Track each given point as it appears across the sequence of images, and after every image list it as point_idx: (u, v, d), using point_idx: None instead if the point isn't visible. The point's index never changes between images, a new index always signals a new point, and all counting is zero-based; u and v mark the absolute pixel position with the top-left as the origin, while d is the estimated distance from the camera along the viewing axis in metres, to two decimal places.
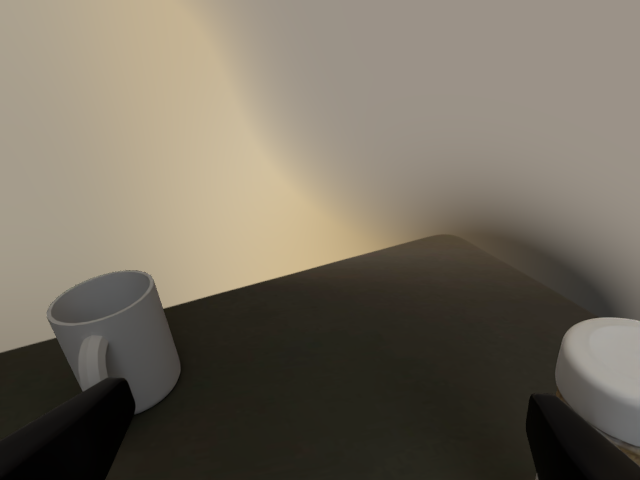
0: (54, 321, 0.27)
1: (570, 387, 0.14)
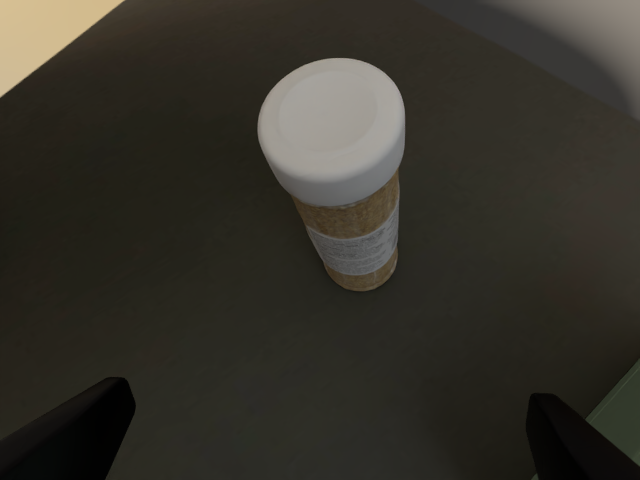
0: None
1: (271, 168, 0.13)
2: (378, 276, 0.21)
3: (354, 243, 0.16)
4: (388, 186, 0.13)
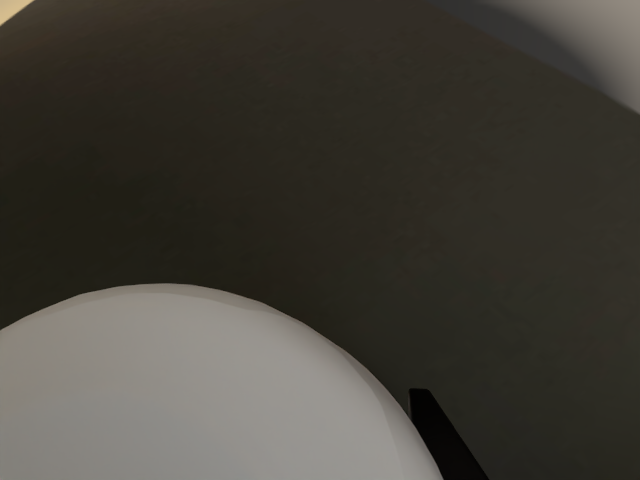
0: None
1: None
2: None
3: None
4: None
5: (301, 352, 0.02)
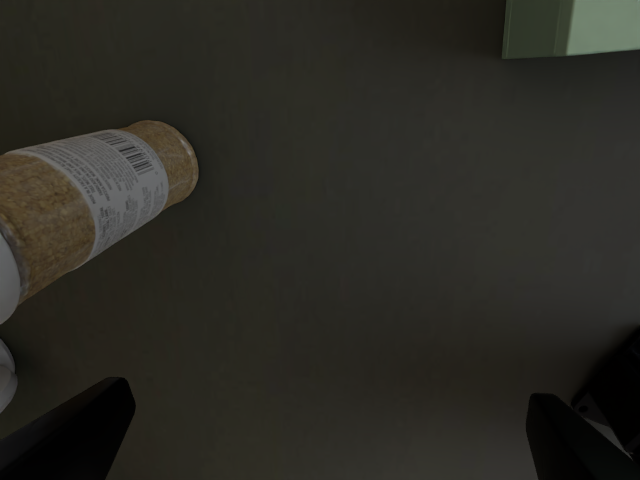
0: None
1: None
2: (182, 177, 0.19)
3: (103, 242, 0.14)
4: (27, 228, 0.11)
5: None
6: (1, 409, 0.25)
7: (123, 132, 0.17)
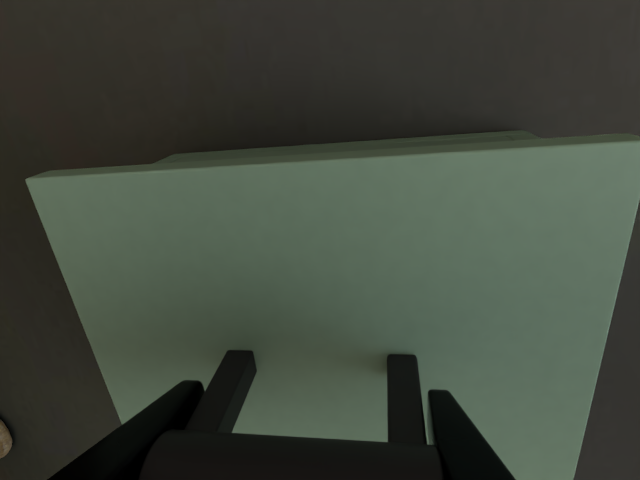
0: None
1: None
2: None
3: None
4: None
5: None
6: None
7: None
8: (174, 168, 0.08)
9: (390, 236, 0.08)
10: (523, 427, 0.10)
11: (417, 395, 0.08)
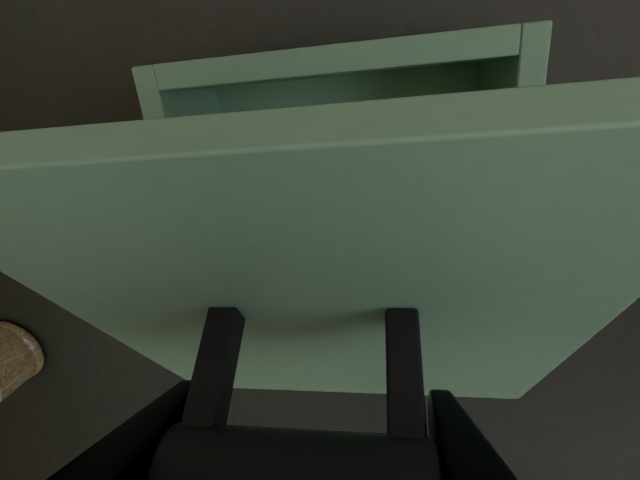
0: None
1: None
2: (21, 372, 0.25)
3: None
4: None
5: None
6: None
7: None
8: (53, 158, 0.05)
9: (390, 224, 0.06)
10: (522, 343, 0.10)
11: (418, 370, 0.08)
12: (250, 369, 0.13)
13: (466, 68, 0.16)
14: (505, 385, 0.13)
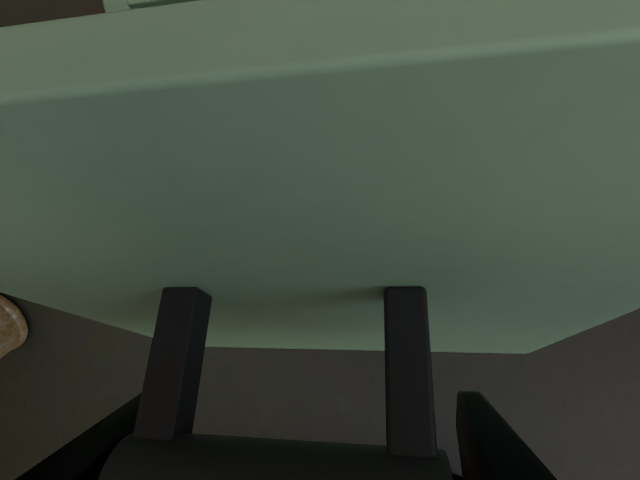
0: None
1: None
2: (4, 341, 0.24)
3: None
4: None
5: None
6: None
7: None
8: None
9: (393, 197, 0.04)
10: (548, 315, 0.08)
11: (426, 368, 0.06)
12: (234, 334, 0.12)
13: None
14: (517, 345, 0.12)
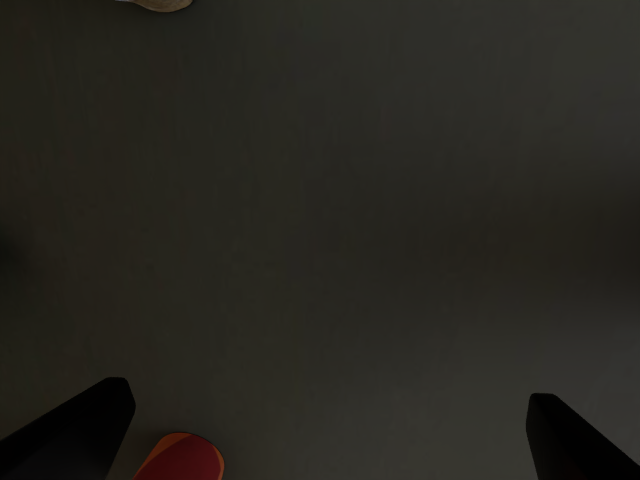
0: None
1: None
2: None
3: None
4: None
5: None
6: None
7: None
8: None
9: None
10: None
11: None
12: None
13: None
14: None
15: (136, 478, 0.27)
